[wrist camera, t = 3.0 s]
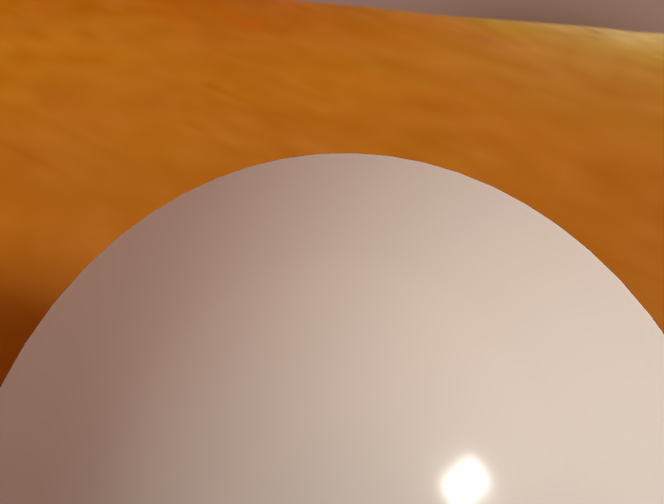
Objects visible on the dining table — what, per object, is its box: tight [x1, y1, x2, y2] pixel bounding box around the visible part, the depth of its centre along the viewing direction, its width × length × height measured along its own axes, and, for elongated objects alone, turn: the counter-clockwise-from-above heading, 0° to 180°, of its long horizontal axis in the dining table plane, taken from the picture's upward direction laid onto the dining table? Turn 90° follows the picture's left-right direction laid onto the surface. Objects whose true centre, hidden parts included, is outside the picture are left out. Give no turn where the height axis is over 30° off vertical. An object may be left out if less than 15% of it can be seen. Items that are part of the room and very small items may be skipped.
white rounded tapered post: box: [0, 153, 664, 504], centre depth 9 cm, size 6×6×12 cm
